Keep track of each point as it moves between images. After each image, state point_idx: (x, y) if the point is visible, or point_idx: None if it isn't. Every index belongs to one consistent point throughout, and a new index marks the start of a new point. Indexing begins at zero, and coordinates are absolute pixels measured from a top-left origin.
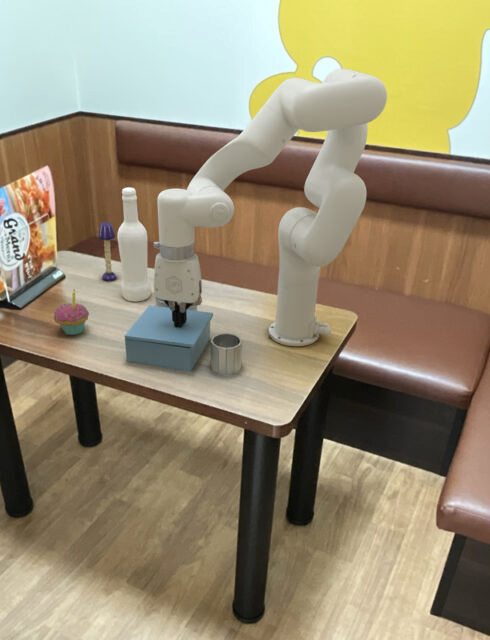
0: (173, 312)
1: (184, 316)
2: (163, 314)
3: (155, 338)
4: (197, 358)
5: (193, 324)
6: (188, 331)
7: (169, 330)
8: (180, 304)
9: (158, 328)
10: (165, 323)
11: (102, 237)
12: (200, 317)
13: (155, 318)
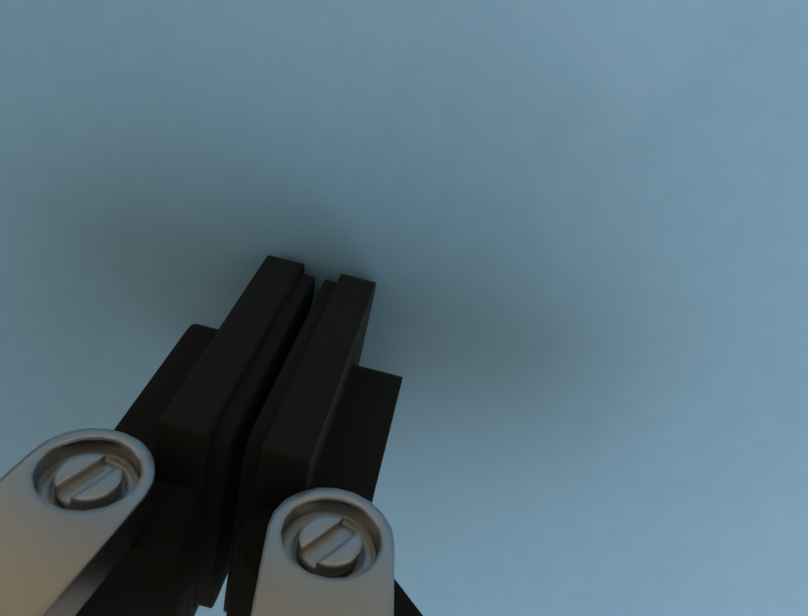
0: (340, 484)
1: (143, 396)
2: (569, 591)
3: None
4: None
5: (120, 349)
6: (129, 152)
7: (446, 188)
8: (43, 605)
9: (639, 254)
10: (529, 391)
11: None
12: None
13: (681, 518)
